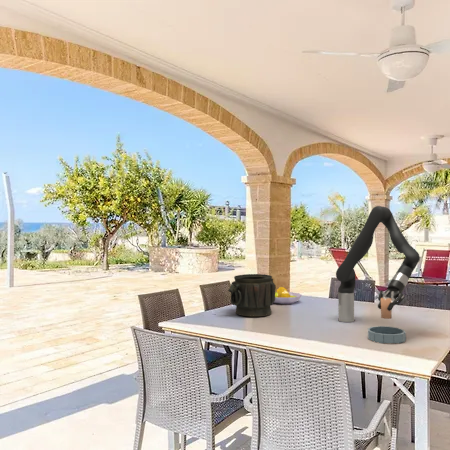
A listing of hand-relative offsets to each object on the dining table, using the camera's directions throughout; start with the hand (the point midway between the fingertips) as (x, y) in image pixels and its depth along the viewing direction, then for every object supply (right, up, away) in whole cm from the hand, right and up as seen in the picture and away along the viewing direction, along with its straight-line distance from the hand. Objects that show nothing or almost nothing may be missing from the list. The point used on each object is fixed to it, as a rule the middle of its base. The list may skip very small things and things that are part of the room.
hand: (383, 308), depth 232 cm
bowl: (+2, -16, +1) cm, 16 cm away
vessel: (-62, -16, +68) cm, 94 cm away
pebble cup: (+2, -5, +1) cm, 5 cm away
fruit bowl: (-38, -15, +108) cm, 116 cm away
